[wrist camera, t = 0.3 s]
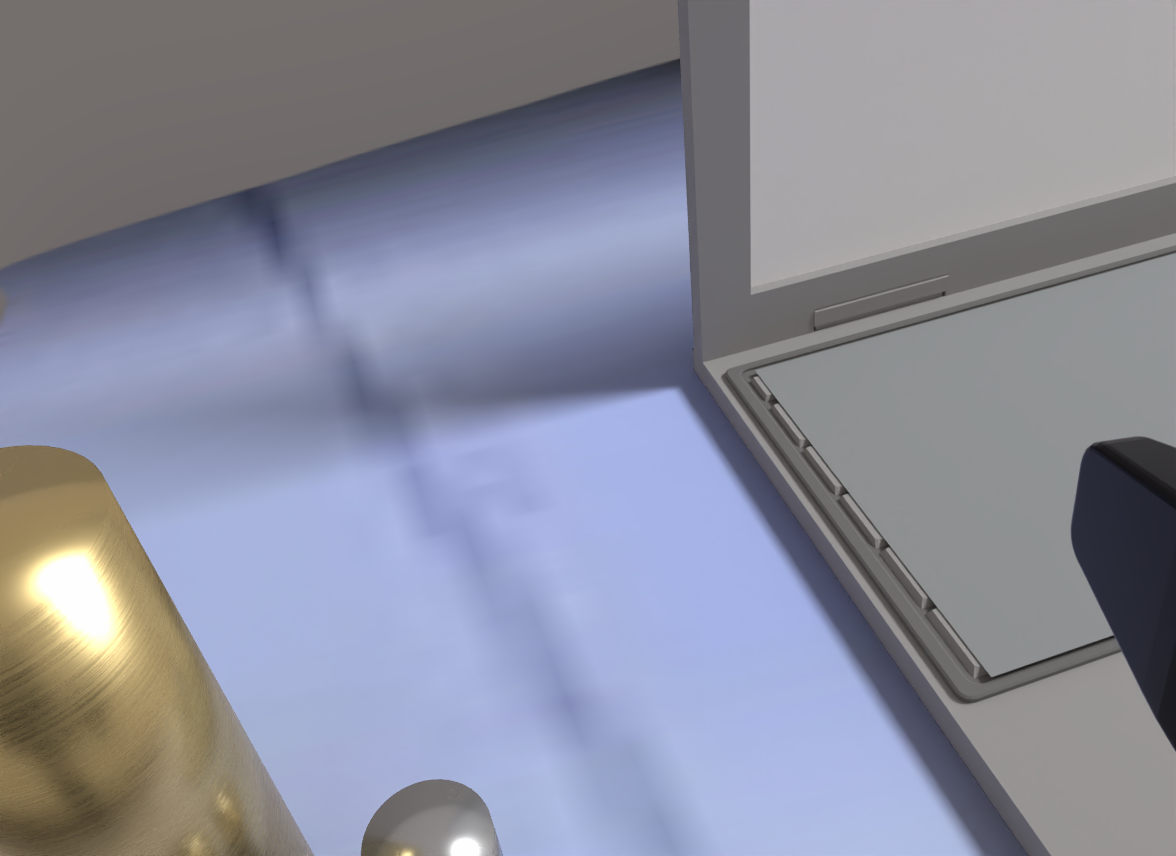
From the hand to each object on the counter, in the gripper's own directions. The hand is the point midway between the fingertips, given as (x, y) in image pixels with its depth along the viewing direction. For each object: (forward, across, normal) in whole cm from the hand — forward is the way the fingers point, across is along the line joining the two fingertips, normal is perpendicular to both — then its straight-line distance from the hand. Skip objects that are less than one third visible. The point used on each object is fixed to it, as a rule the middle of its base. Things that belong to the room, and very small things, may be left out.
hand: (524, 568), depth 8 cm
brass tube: (+8, +8, +16) cm, 19 cm away
